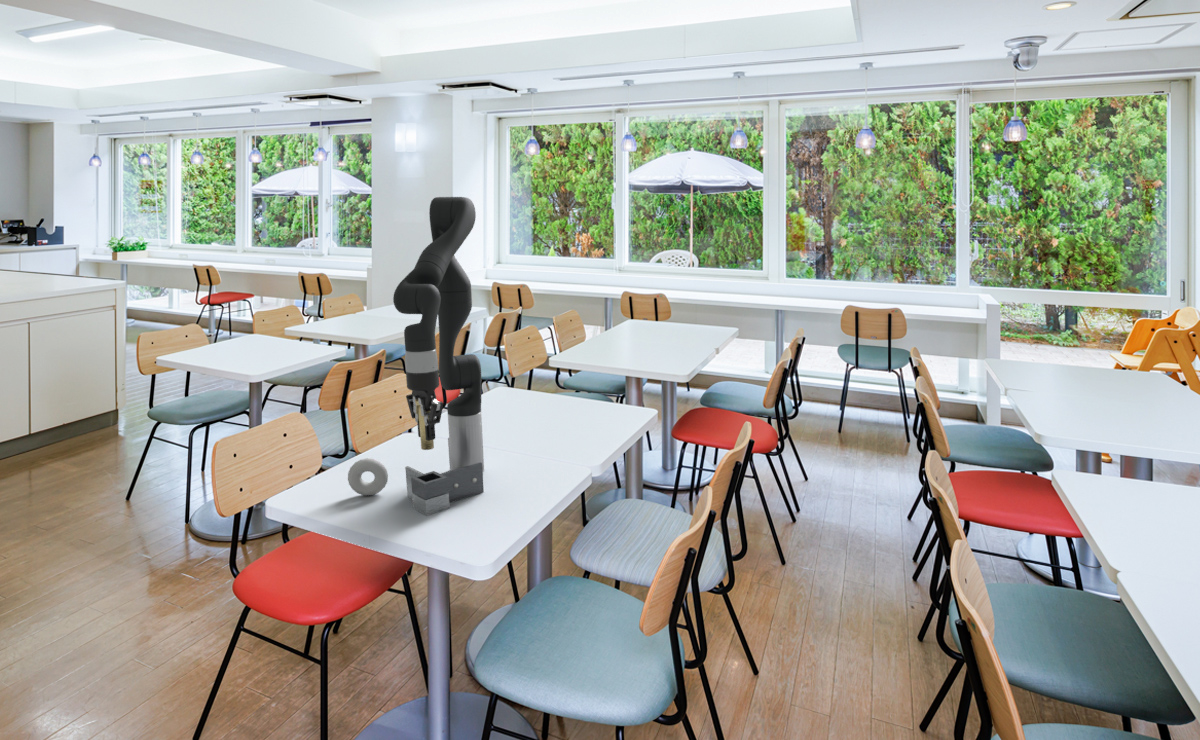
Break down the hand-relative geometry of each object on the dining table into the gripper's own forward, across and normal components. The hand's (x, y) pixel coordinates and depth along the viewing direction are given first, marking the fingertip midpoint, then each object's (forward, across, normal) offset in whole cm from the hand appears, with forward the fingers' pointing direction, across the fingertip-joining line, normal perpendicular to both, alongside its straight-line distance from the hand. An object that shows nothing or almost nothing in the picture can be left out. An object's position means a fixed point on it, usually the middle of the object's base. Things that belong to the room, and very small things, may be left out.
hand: (426, 437), depth 174 cm
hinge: (+18, +4, -6) cm, 20 cm away
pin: (+3, 0, 0) cm, 3 cm away
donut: (+18, +19, +7) cm, 27 cm away
